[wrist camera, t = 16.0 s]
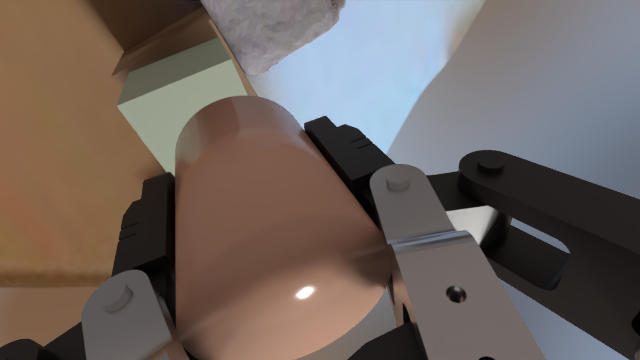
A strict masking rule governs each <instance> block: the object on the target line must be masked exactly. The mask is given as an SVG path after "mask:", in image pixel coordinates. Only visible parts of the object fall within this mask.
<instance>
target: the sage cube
mask: <svg viewBox="0 0 640 360" xmlns="http://www.w3.org/2000/svg"><path fill="white" fill-rule="evenodd" d="M232 96H248V95H247V93H246V91H245V88H244V86H243V84H242V82H241V79H240V77H239V75H238V73H237V71H236V68H235V66H234V64H233V62H232V60H231V58H230V56H229V54H228V53H227V51H226V49H225V48H224V46H223V44H222V43H221V41H220V39H219V38H218V37H217V38H214V39H212V40H209V41H207V42H204V43H202V44H199V45H197V46H194V47H192V48H189V49H187V50H184V51H182V52H179V53H177V54H174V55H172V56H169V57H167V58H164V59H162V60H159V61H157V62H154V63H152V64H149V65H147V66H144V67H141V68H139V69H136V70H134V71H131V72H129V74H128V77H127V79H126V82H125V85H124V87H123V90H122V93H121V95H120V98H119V101H118V103H117V107H118V109H119V110H120V111H121V113H122V114H123V115H124V117H125V118H126V119H127V121H128V122H129V123H130V125H131V126H132V127H133V129H134V130H135V131H136V132H137V134H138V135H139V136H140V138H141V139H142V140H143V142H144V143H145V144H146V146H147V147H148V148H149V150H150V151H151V152H152V154H153V155H154V156H155V158H156V159H157V160H158V162H159V163H160V164H161V166H162V167H163V168H164V170H165V171H166V172H171V173H172V174H173V175H174V177H175V148H176V143H177V140H178V137H179V134H180V133H181V131H182V129H183V127H184V126H185V124H186V123H187V122H188V120H189V119H190V118H191V117H192V116H193V115H194V114H195V113H197V112H198V111H199V110H201V109H202V108H203V107H205V106H207V105H209V104H210V103H212V102H215V101H217V100H220V99H223V98H227V97H232Z"/></svg>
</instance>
